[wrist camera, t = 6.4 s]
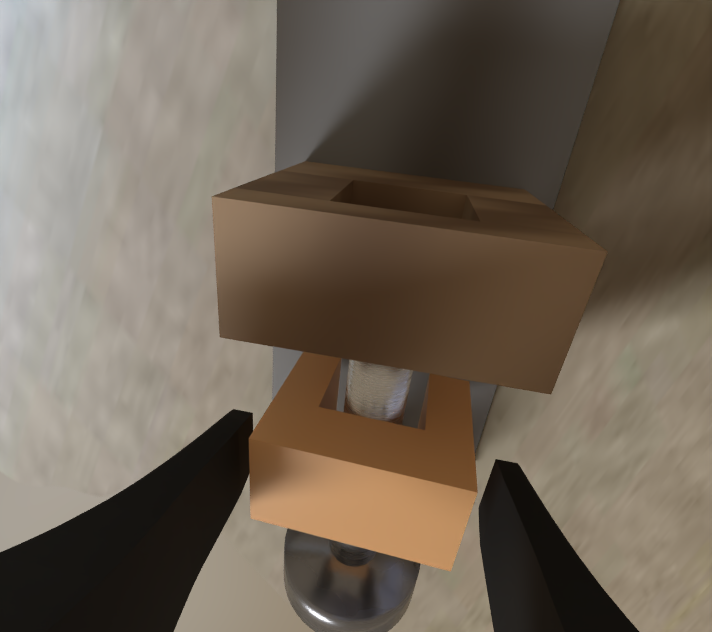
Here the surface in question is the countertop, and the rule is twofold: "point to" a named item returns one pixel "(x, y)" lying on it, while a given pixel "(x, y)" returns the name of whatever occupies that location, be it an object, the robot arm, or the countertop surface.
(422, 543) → the block
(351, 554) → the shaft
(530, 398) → the countertop surface
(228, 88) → the countertop surface
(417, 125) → the bearing block
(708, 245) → the countertop surface
